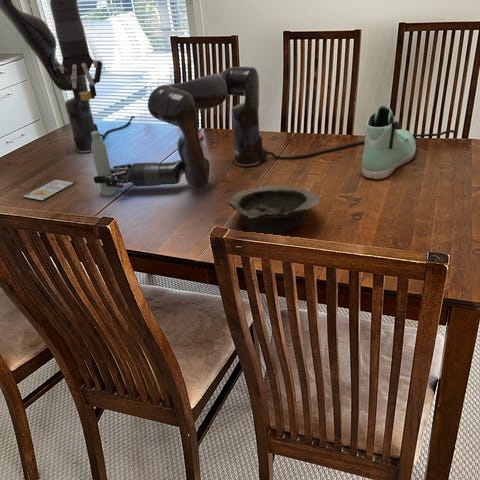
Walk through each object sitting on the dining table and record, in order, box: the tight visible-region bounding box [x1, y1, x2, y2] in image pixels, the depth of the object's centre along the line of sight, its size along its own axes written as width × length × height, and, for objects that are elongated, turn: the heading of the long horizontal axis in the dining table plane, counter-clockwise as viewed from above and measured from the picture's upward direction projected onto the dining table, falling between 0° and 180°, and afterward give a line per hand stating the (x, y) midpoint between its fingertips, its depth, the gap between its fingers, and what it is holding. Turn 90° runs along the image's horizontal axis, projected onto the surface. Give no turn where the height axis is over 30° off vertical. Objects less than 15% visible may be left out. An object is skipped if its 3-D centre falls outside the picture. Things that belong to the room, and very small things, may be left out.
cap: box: [79, 90, 93, 101], centre depth 143 cm, size 4×4×2 cm
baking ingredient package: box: [23, 179, 74, 201], centre depth 165 cm, size 9×1×15 cm
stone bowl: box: [226, 184, 320, 236], centre depth 133 cm, size 25×25×9 cm
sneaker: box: [361, 105, 417, 180], centre depth 160 cm, size 14×34×20 cm, turn 152°
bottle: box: [91, 130, 116, 197], centre depth 154 cm, size 4×4×21 cm
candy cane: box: [198, 132, 204, 141], centre depth 196 cm, size 6×15×2 cm, turn 145°
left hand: (86, 98), depth 143 cm, fingers closed on cap, 3 cm apart
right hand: (97, 176), depth 157 cm, fingers closed on bottle, 4 cm apart
